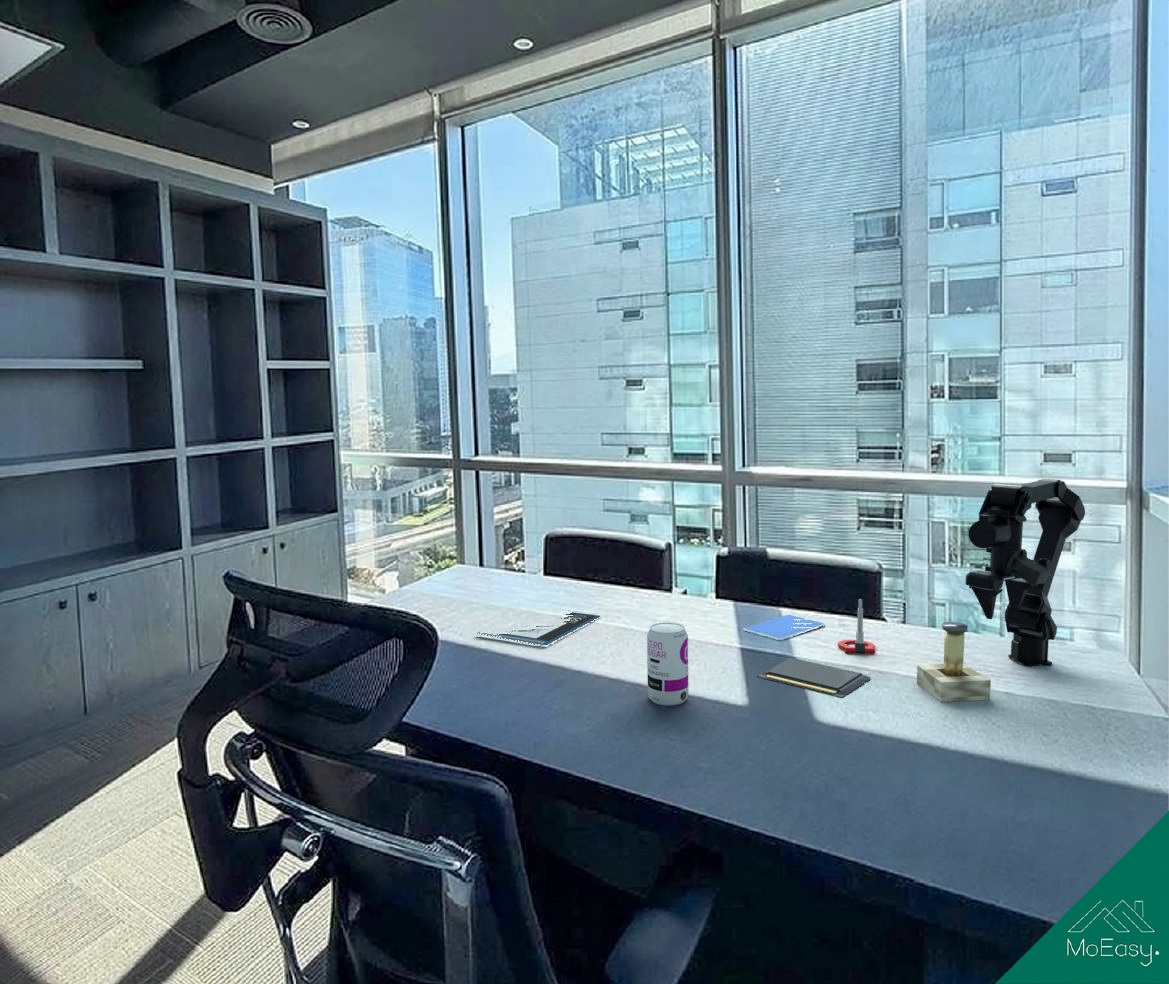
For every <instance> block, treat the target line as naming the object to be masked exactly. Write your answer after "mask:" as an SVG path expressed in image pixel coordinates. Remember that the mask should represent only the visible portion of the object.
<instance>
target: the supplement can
mask: <svg viewBox="0 0 1169 984" xmlns="http://www.w3.org/2000/svg"><path fill="white" fill-rule="evenodd" d="M688 635H689V634H688V633H687V630H686V628H685V625H682V624H680V623H676V622H657V623H654V624H651V625H650V626H649V630H648V631H647V633H646V655H647V656H646V657H647V659H646V661H647V662H646V664H647V666H646V667H647V669H646V670H647V672H646V673H647V696H648V697H647V698H649V699H650V701H651V702H652V703H654V704H657V705H660V706H668V707H669V706H677V705H681V704H683V703H685V701H686V700H688V698H689V636H688Z"/></svg>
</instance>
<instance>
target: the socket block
mask: <svg viewBox="0 0 1169 984" xmlns="http://www.w3.org/2000/svg"><path fill="white" fill-rule="evenodd" d="M943 667H944V663H939V664H938V663H936V664H918V665H917V666H916V684H917V685H918V686H919V687H920V688H922V689H923V690H925V691H926V692H927V693H929V694H930V695H931V696H932V695H933V696H932V697H934V698H935V699H936V700H938V701H941V703H944V702H946V703H947V702H948V701H949V702H966V701H967V702H968V701H985V700H986V701H989V700H988V699H990V700H991V686H992V685H991V682H992V681H991V679H989V677H987V676H985V675H984V674H981V672H979V671H977V670H975V669H974V668H972V667H971V666H969V665H968V664H965V663H964V662H963V676H957V677H947V676H946V675H944V674H943Z"/></svg>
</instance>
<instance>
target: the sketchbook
mask: <svg viewBox="0 0 1169 984" xmlns="http://www.w3.org/2000/svg"><path fill="white" fill-rule="evenodd" d="M571 612H572V613H570V614H566V615H573V616H568V617H564V619H570V621H564V622H557V623H566V624H557V625H555V624H554V625H551V626H536V627H558V628H551V629H544V630H543V629H532V630H531V629H530V630H517V631H516V630H514V631H513V630H512V631H505V632H528V633H513V634H512V633H510V634H509V633H507V634H499V635H498V634H497V635H493V634H487V633H482V634H484V635H485V634H487V636H488V635H490V636H492V635H493V636H495V637H496V636H498V637H499V636H501V637H502V638H503V639H504V638H506V639H508V640H509V639H511V640H514V641H515V640H517V642H518V640H519V641H520V642H521V641H523V642H525V643H526V642H528V644H529V643H531V644H532V643H533V644H534V645H535V644H537V645H538V644H540V646H542V645H548V644H550V643H552V642H553V641H555V640H558V639H559V638H561V637H562V636H565V635H567V634H568V633H570V632H573V631H574V630H576V629H577V628H579V627H582V626H583V625H585V624H587V623H590V622H591V621H593V620H594V619H597V618H599V617H600V618H601V615H597V614H590V613H584V612H583V613H582V612H574V611H571ZM600 618H599V619H600ZM561 619H562V618H561ZM590 624H591V623H590ZM526 627H527V626H526ZM529 632H530V633H529ZM476 633H477V634H478V633H479V634H480V631H478V632H476ZM482 634H481V635H482ZM493 636H492V637H493ZM498 637H497V638H498ZM501 637H500V639H501ZM506 639H505V640H506ZM523 642H522V643H523Z"/></svg>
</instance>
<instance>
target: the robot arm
mask: <svg viewBox="0 0 1169 984" xmlns="http://www.w3.org/2000/svg"><path fill="white" fill-rule="evenodd" d="M1032 504H1034V507H1035V509H1036V510H1037V512H1038V522H1039V524H1040V526H1041V529H1042V532H1041V534H1040V538H1039V541H1038V544H1037V548H1036V550H1035V553H1034V556H1033V559H1030V558H1029V557H1028V552H1027V550H1026V549H1025V548H1022V546H1023V544H1022V543H1023V526H1024V522H1027V517H1026V516H1025V515H1026V513H1027V512H1028V511H1029V510H1031V509H1032ZM1085 515H1086V508H1085V505H1084V503H1083V501H1082V499H1081V497H1080V496H1079V495H1078V494H1076V493H1075V492H1074V491H1073V490H1071V489H1070V488H1068V486H1067V484H1066V482H1065V481H1063V480H1061V479H1050V478H1041V479H1038V480H1036V481H1031V482H1027V483H1024V484H1023V483H1022V484H1005V483H1003V484H1002V483H994V484H992V485H991V486H990V489H989V490H988V491H987V493H986V496H985V498H984V501H983V502H982V505H981V507H980V509H979V512H978V520H977V521H975V522H973V523H972V524H971V526H970V527H969V529H968V539H969V541H970V543H971V544H972V545H973V546H975V547H977V548H978V549H986V550H985V552H986V553H990V554H989V556H990V557H989V565H985V566H984V567H985V569H984V570H982V569H981V570H975V571H974V570H973V571H969V572H968V573H967V574H965V583H964V584H965V585H966V586H968V587H969V589H972V591H973V594H974V595H975V597H976V599H977V601H978V603H979V605H980V607H981V609H982V611H983V613H984V616H985V618H986V619H987V620H992V619H993V617H994V612H995V606H996V600H997V597H998V595H999V594H1000V593H1002V592H1003V591H1004V589H1002V587H1003V585H1004V583H1005V588H1006V592H1007V597H1008V605H1007V606H1006V609H1005V611H1004V620H1005V627H1006V632H1007V633H1010V634H1011V633H1012V634H1013V636H1012V637H1013V639H1011V640H1010V641H1011V642H1010V643H1011V644H1010V648H1011V649H1010V654H1008V655H1007V656H1008V658H1010V659H1012V660H1013V661H1016V662H1017V663H1018V664H1020V665H1022V666H1025V667H1030V666H1031V667H1032V666H1033V667H1035V666H1052V665H1053V661H1050V660H1049V659H1048V658H1049V641H1054V640H1055V639H1056V636H1057V632H1058V631H1057V630H1058V626H1057V624H1056V623H1055V621H1054V619H1053V617H1052V612H1053V611H1052V606H1051V603H1050V601H1049V598H1048V596H1049V592H1050V589H1051V586H1052V583H1053V580H1054V576H1055V575H1056V571H1057V568H1058V564H1059V561H1060V558H1061V555H1062V552H1063V549H1064V546H1065V542H1066V541H1067V539H1068V538H1069V537H1070V536H1071V535H1073V534H1074V533H1075V532H1077V531H1078V530H1079V527H1080V524H1081V522H1082V521H1083V520H1084V518H1085Z"/></svg>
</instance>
